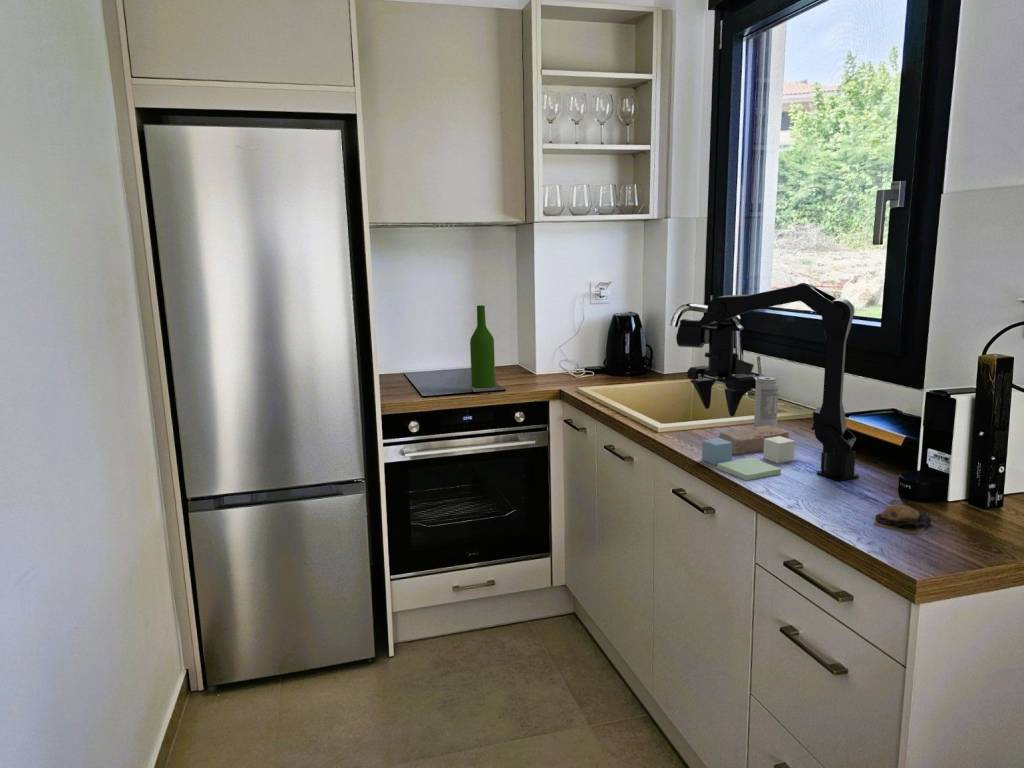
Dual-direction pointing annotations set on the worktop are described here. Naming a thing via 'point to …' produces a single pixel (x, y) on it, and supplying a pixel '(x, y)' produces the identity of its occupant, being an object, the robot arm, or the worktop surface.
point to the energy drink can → (766, 402)
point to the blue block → (716, 451)
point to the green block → (748, 468)
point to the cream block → (779, 449)
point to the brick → (751, 438)
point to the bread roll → (903, 519)
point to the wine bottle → (482, 354)
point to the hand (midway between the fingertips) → (719, 412)
